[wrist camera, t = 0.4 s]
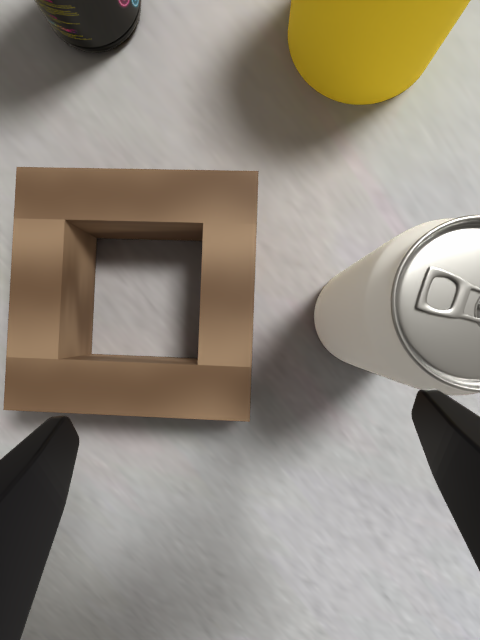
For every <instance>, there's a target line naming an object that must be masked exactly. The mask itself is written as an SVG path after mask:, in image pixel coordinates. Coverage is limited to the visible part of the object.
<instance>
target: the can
mask: <svg viewBox="0 0 480 640" xmlns="http://www.w3.org/2000/svg"><path fill="white" fill-rule="evenodd" d="M314 322H315V328H316V331H317V334H318V337H319V339H320V340H321V342H322V344H323V345H324V346H325V348H326V349H327V350H328V351H329V352H330V353H331V354H332V355H334V356H335V357H337V358H338V359H340V360H342V361H344V362H346V363H348V364H351V365H353V366H356V367H359V368H361V369H364V370H367V371H369V372H372V373H375V374H378V375H380V376H383V377H386V378H389V379H391V380H394V381H397V382H400V383H403V384H406V385H408V386H411V387H414V388H417V389H421V390H422V389H438V390H440V391H441V392H443V393H444V394H446V395H469V394H475V393H479V392H480V215H471V216H464V217H459V218H450V219H440V220H434V221H430V222H426V223H423V224H421V225H418V226H415V227H413V228H411V229H409V230H407V231H405V232H403V233H401V234H400V235H398V236H396V237H395V238H393V239H391V240H390V241H388V242H387V243H385V244H383V245H382V246H380V247H379V248H377V249H376V250H374V251H373V252H371V253H370V254H368V255H366V256H365V257H363V258H362V259H360V260H359V261H357V262H356V263H354V264H353V265H351V266H350V267H348V268H347V269H345V270H344V271H342V272H341V273H339V274H338V275H336V276H335V277H334V278H333V279H331V280H330V281H329V282H328V283H327V284H326V285H325V287H324V288H323V289H322V291H321V293H320V294H319V296H318V299H317V302H316V305H315V311H314Z"/></svg>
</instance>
